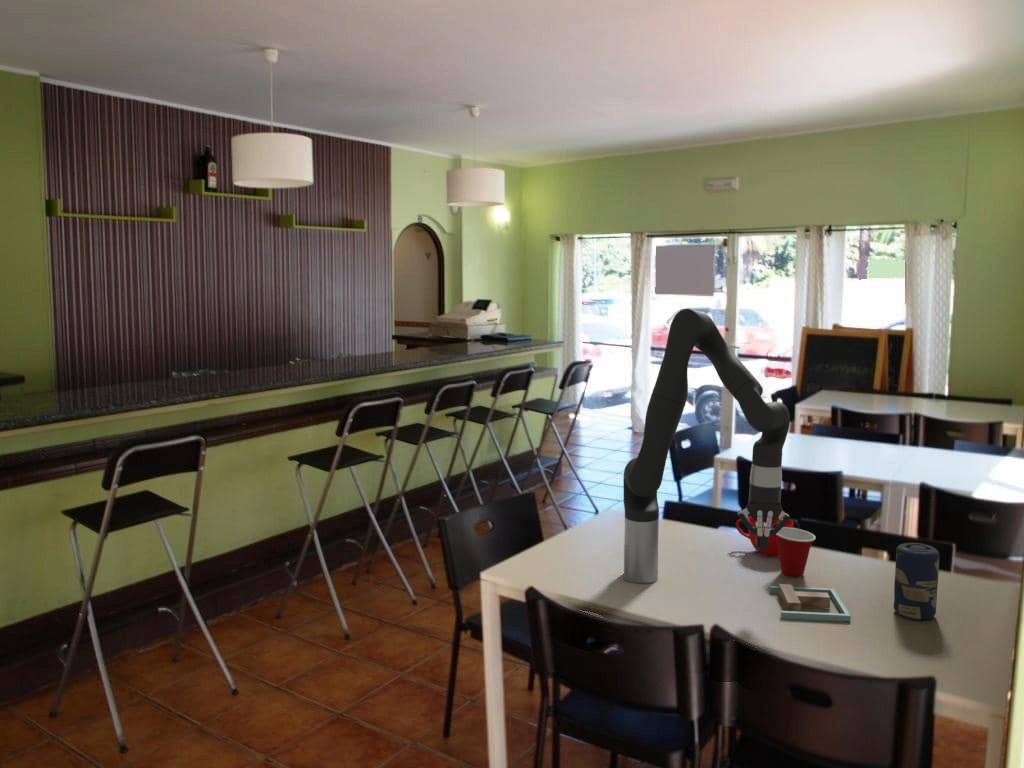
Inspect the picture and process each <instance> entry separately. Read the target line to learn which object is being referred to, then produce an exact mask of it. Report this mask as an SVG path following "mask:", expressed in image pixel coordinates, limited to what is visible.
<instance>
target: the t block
mask: <svg viewBox="0 0 1024 768" xmlns="http://www.w3.org/2000/svg"><path fill="white" fill-rule="evenodd" d="M778 586H779V593H778V597H779V596H780V597H779V599H780V600H781V602H782V605H783V607H784V609H785V611H796V612H801V608H803V609H804V608H805V609H823V608H830V609H831V596H829V594H828V593H821V592H799V591H794V589H793V587H794V586H793V585H792V584H790V583H789V584H787V583H785V584H784V583H783V584H782V583H779V584H778Z"/></svg>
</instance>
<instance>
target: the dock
mask: <svg viewBox="0 0 1024 768" xmlns="http://www.w3.org/2000/svg"><path fill="white" fill-rule="evenodd" d="M792 587H793V589H794V591H799V592H821V593H828V594H829V595H830V598H831V597H832V598H831V599H832V601H833V603H834V602H835V603H834V605H835V606H836V605H837V606H836V608H837V607H838V608H837V609H838V611H839V610H840V611H839V612H840V613H833V612H815V611H813V612H811V611H800V612H796V611H786V610H780V618H781V619H785V620H786V619H787V620H788V619H791V620H807V621H809V620H810V621H825V622H826V621H827V620H828V621H830V622H845V621H850V622H851V616H852V615H851V614H850V613H849V611H848V609H847V607H846V606H845V605H844V603H843V602H842V600H841V598H840V597H839V595H838V593H837V592H836V590H835V589H834V588H826V587H825V588H824V587H803V586H792ZM770 592H771V594H779V585H778V586H777V585H770V586H769V593H770ZM841 613H842V614H841Z"/></svg>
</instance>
